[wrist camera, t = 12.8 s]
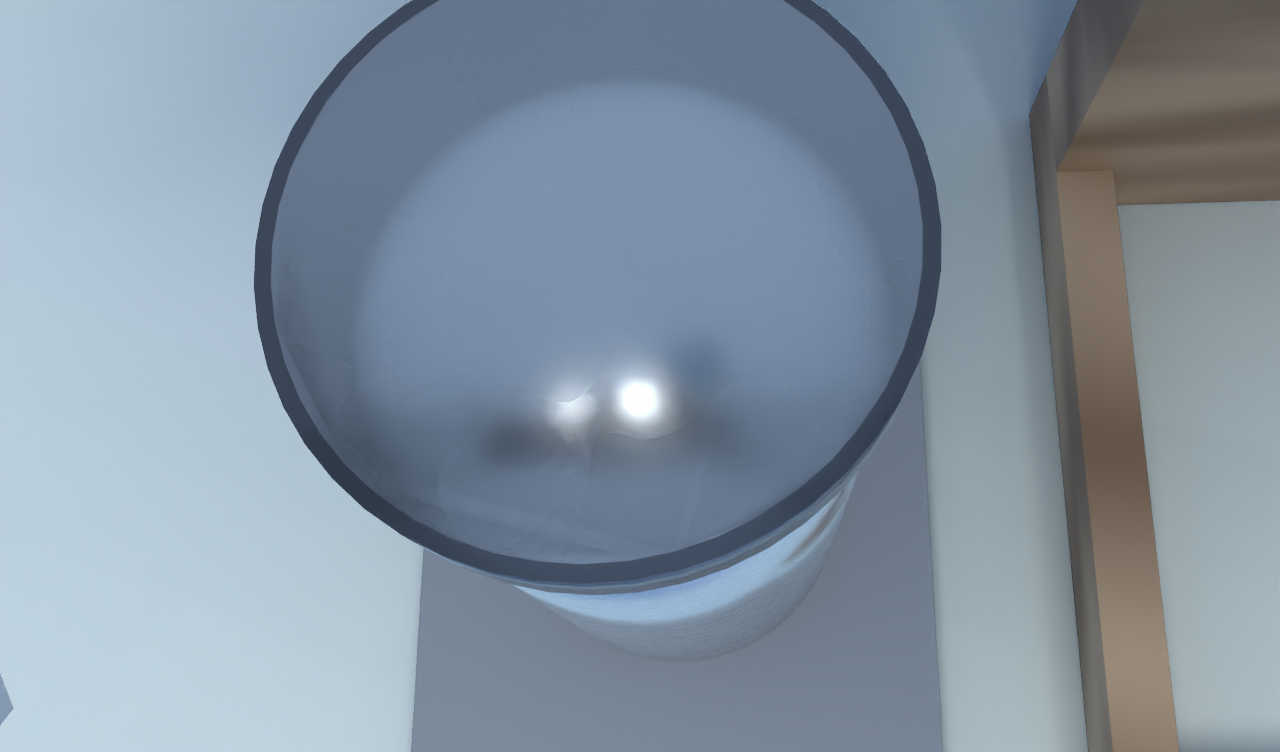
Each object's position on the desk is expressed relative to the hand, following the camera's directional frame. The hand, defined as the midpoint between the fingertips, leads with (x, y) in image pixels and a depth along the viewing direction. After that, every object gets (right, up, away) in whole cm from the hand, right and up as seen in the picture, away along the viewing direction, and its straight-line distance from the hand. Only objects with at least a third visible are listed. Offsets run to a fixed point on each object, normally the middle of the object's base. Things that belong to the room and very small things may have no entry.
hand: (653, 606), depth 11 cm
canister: (+1, 0, +11) cm, 11 cm away
